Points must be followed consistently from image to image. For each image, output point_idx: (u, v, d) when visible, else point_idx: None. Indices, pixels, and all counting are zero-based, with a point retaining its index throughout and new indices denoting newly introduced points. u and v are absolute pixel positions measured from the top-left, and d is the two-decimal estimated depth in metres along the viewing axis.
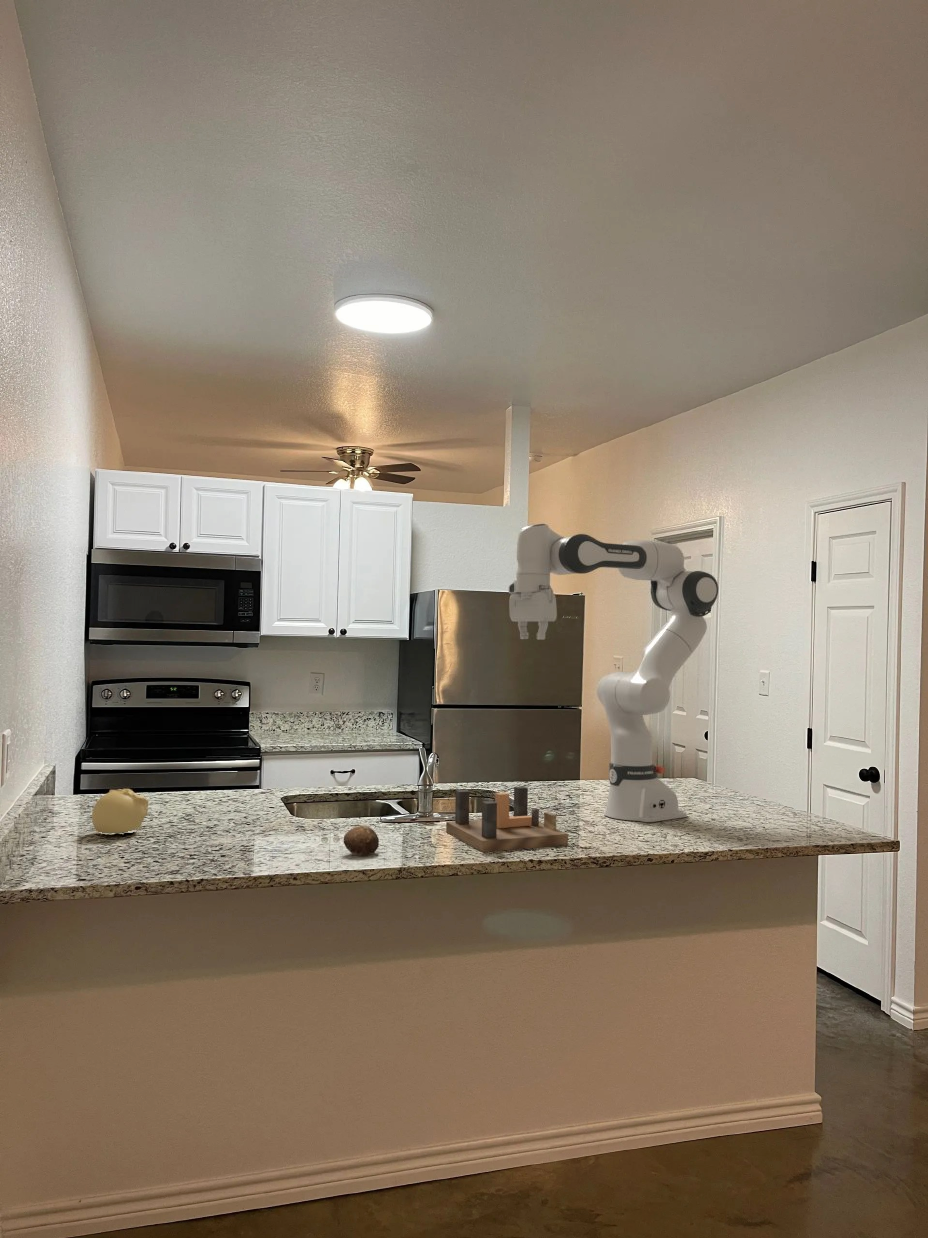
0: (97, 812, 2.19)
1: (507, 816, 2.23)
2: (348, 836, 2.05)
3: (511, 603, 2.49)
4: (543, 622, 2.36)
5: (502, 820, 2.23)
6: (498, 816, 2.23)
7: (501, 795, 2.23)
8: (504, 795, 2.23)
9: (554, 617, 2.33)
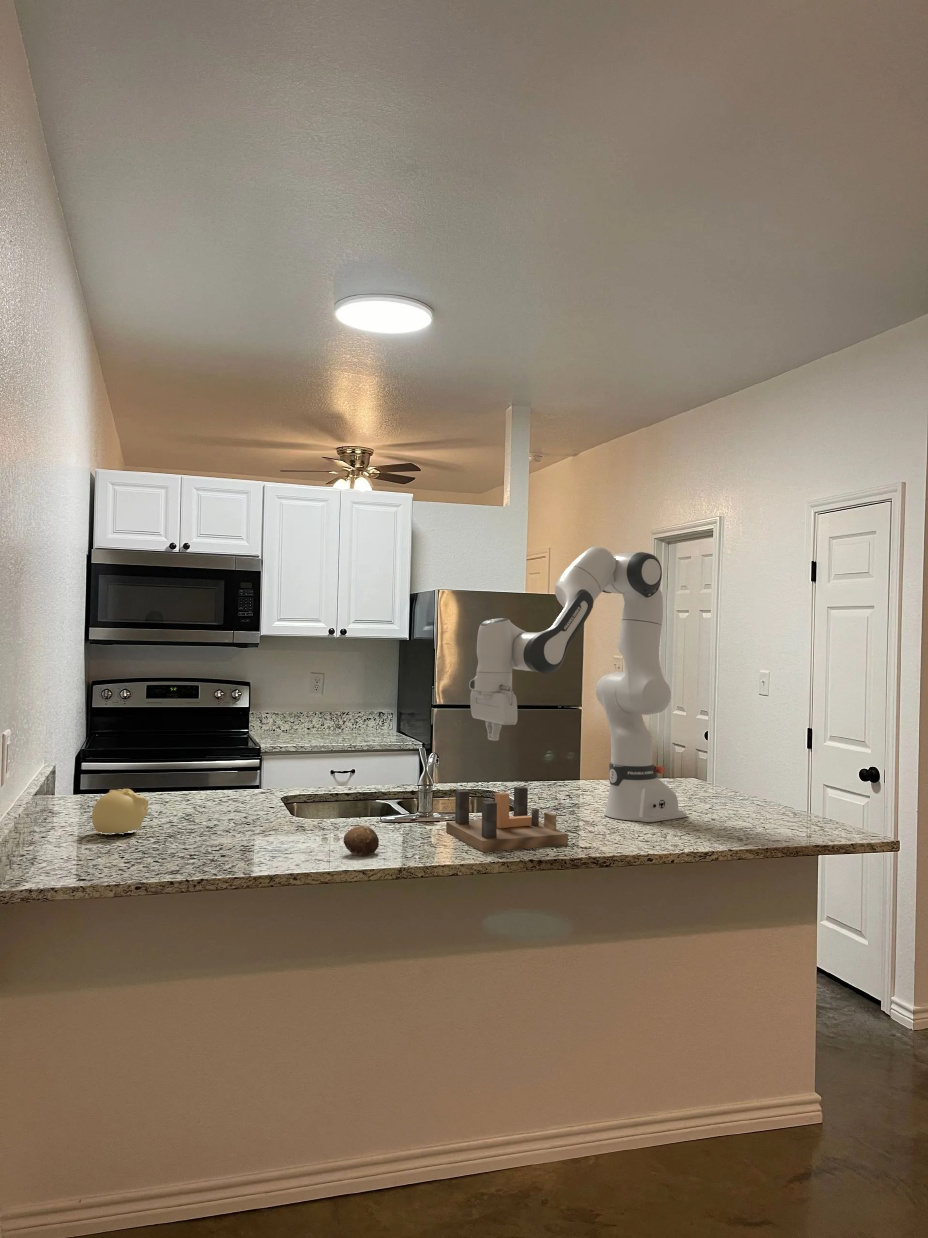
0: (97, 812, 2.19)
1: (507, 816, 2.23)
2: (348, 836, 2.05)
3: (472, 699, 2.36)
4: (496, 723, 2.27)
5: (502, 820, 2.23)
6: (498, 816, 2.23)
7: (501, 795, 2.23)
8: (504, 795, 2.23)
9: (515, 721, 2.21)
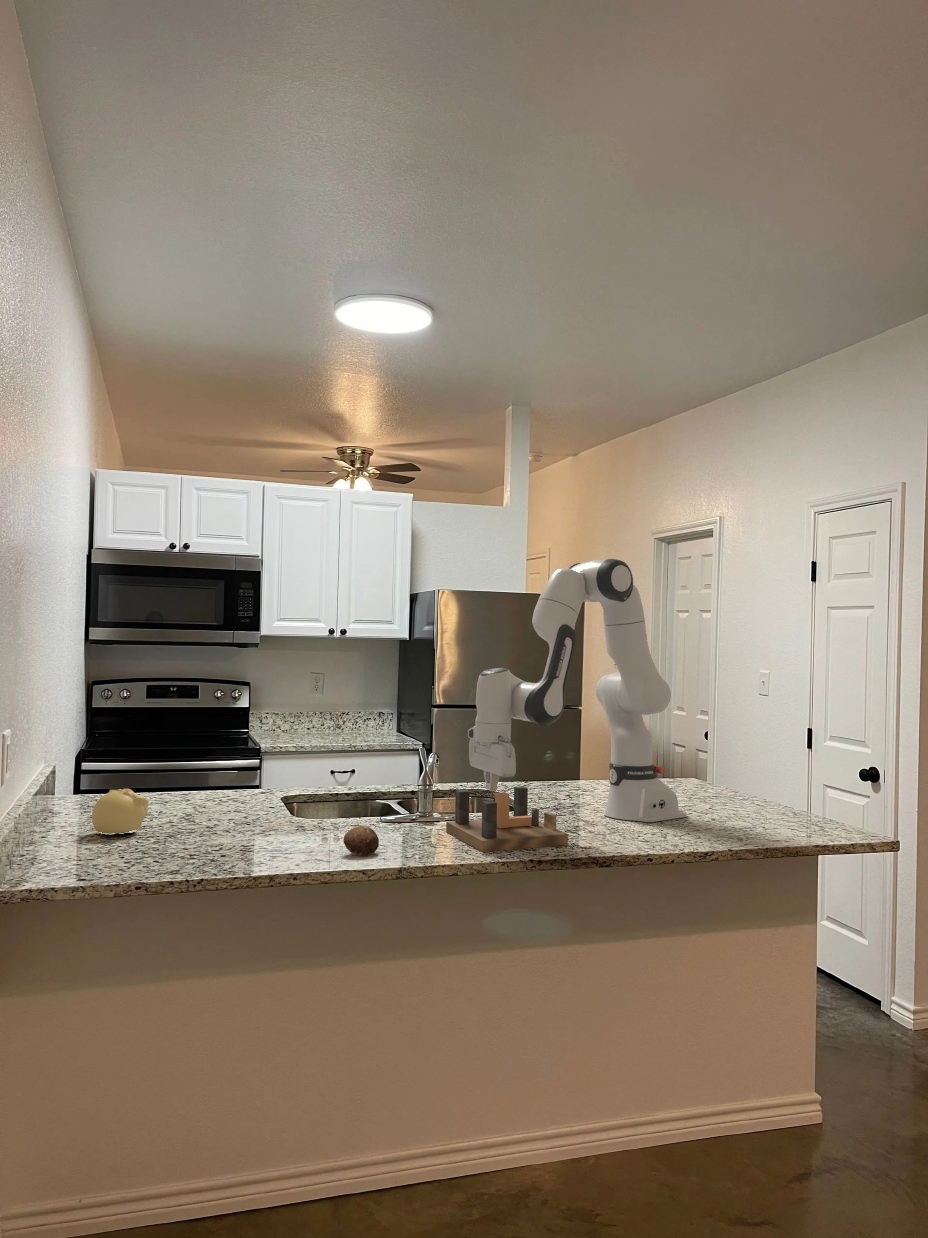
0: (97, 812, 2.19)
1: (507, 816, 2.23)
2: (348, 836, 2.05)
3: (470, 748, 2.36)
4: (495, 774, 2.27)
5: (502, 820, 2.23)
6: (498, 816, 2.23)
7: (501, 795, 2.23)
8: (504, 795, 2.23)
9: (513, 773, 2.20)
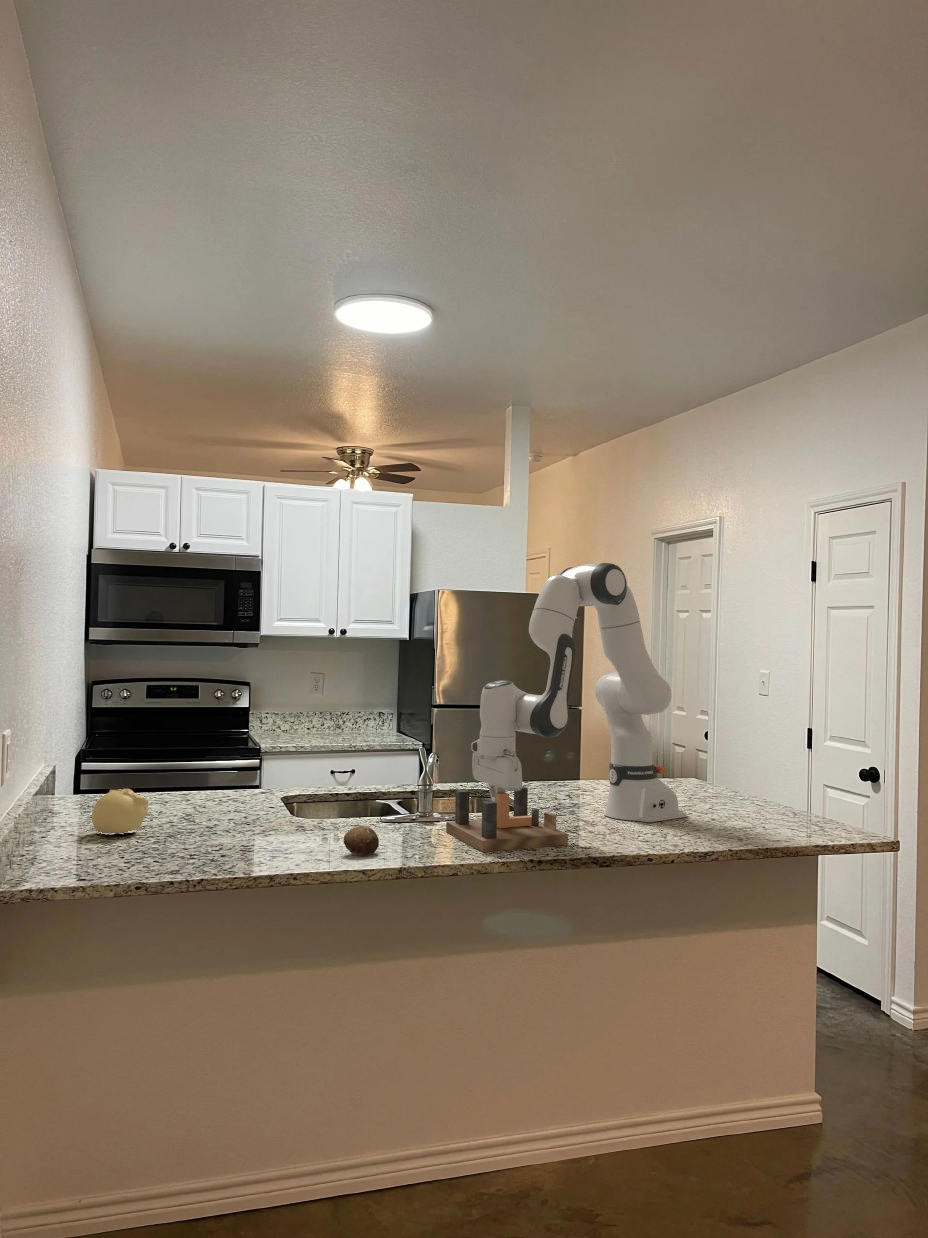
0: (97, 812, 2.19)
1: (507, 816, 2.23)
2: (348, 836, 2.05)
3: (474, 761, 2.34)
4: (500, 787, 2.25)
5: (502, 820, 2.23)
6: (498, 816, 2.23)
7: (501, 795, 2.23)
8: (504, 795, 2.23)
9: (519, 787, 2.19)
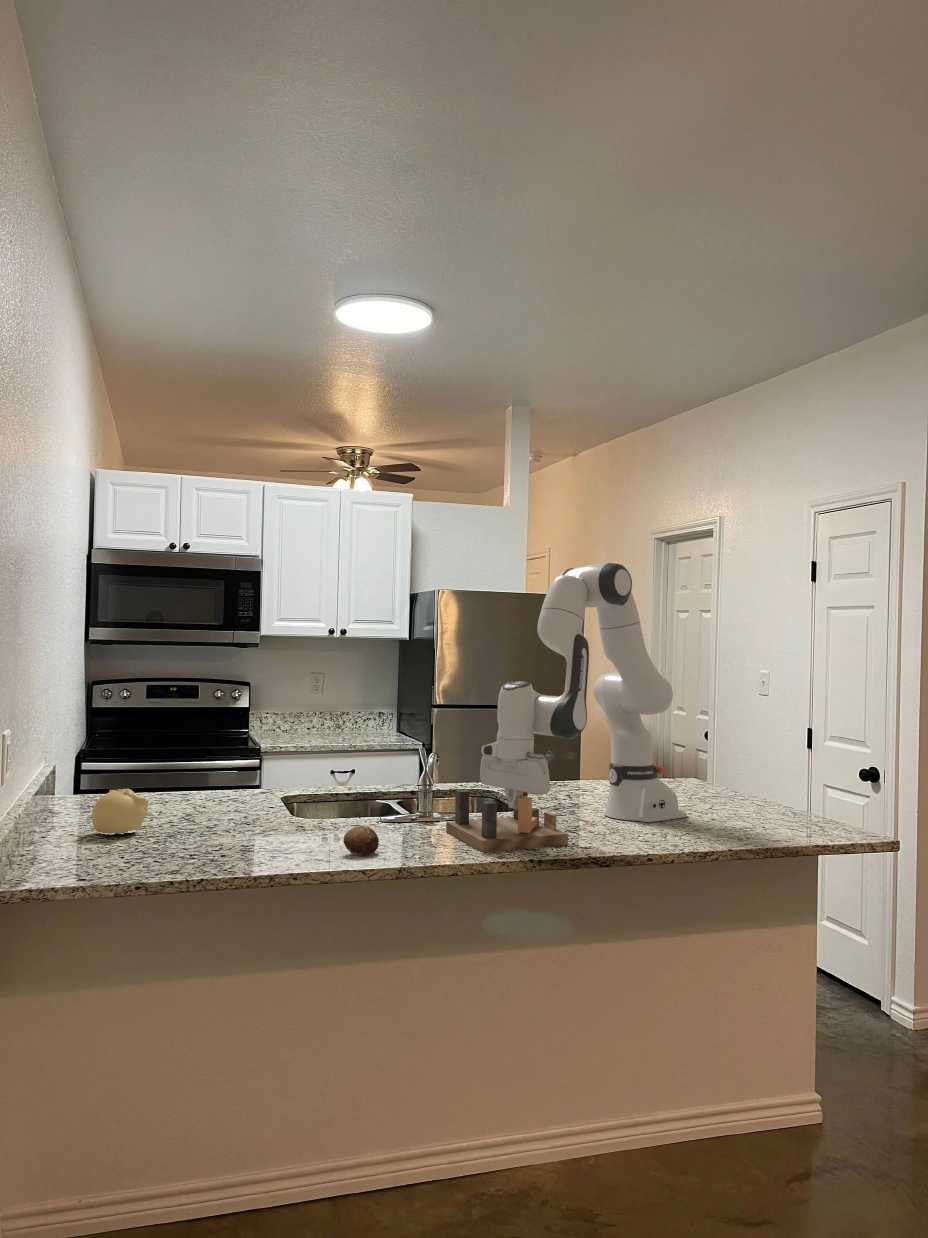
0: (97, 812, 2.19)
1: (531, 819, 2.20)
2: (348, 836, 2.05)
3: (483, 765, 2.26)
4: (519, 791, 2.20)
5: (529, 824, 2.18)
6: (526, 821, 2.18)
7: (529, 799, 2.18)
8: (530, 799, 2.19)
9: (548, 790, 2.14)
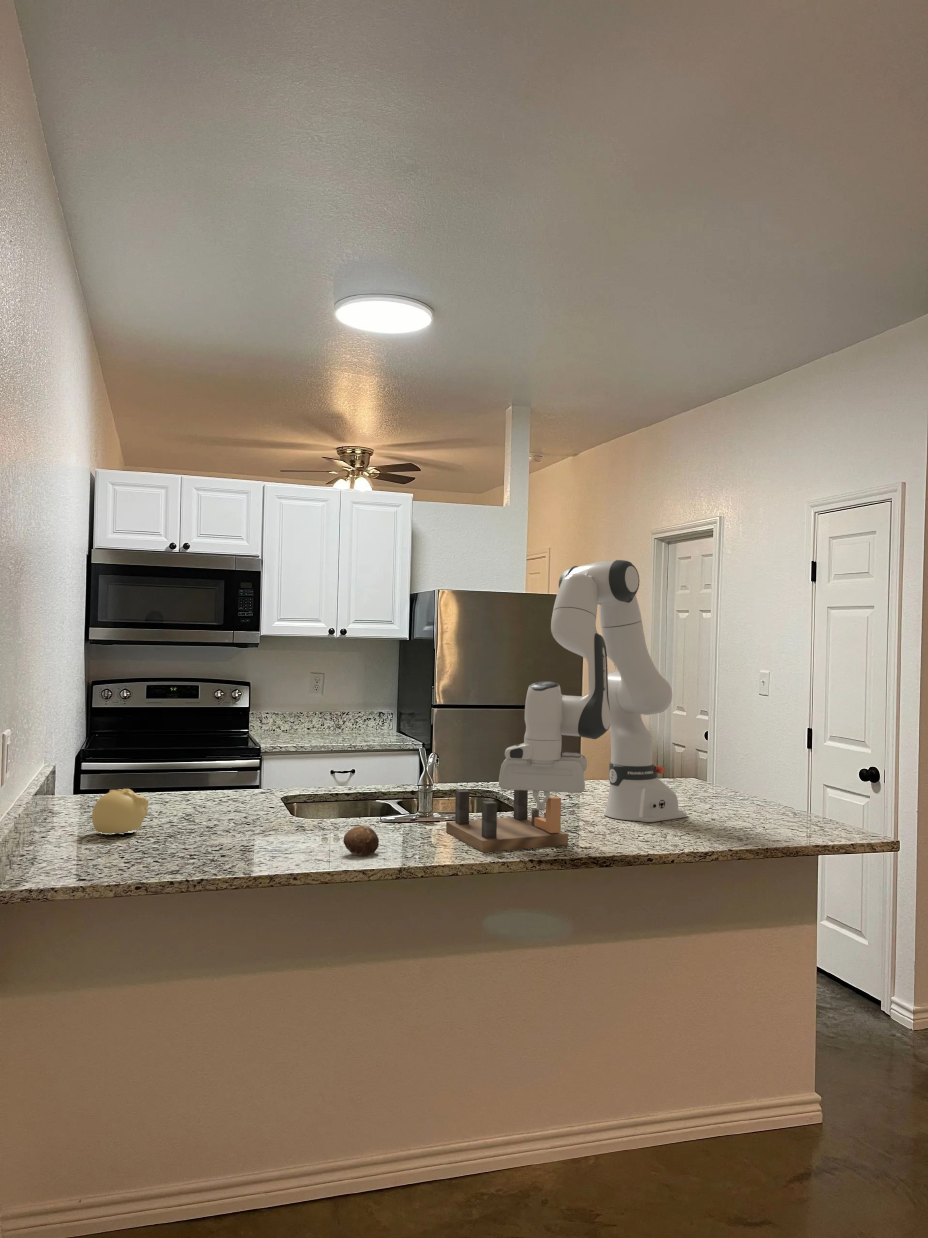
0: (97, 812, 2.19)
1: None
2: (348, 836, 2.05)
3: (506, 769, 2.18)
4: (549, 792, 2.18)
5: None
6: (558, 821, 2.19)
7: None
8: None
9: None
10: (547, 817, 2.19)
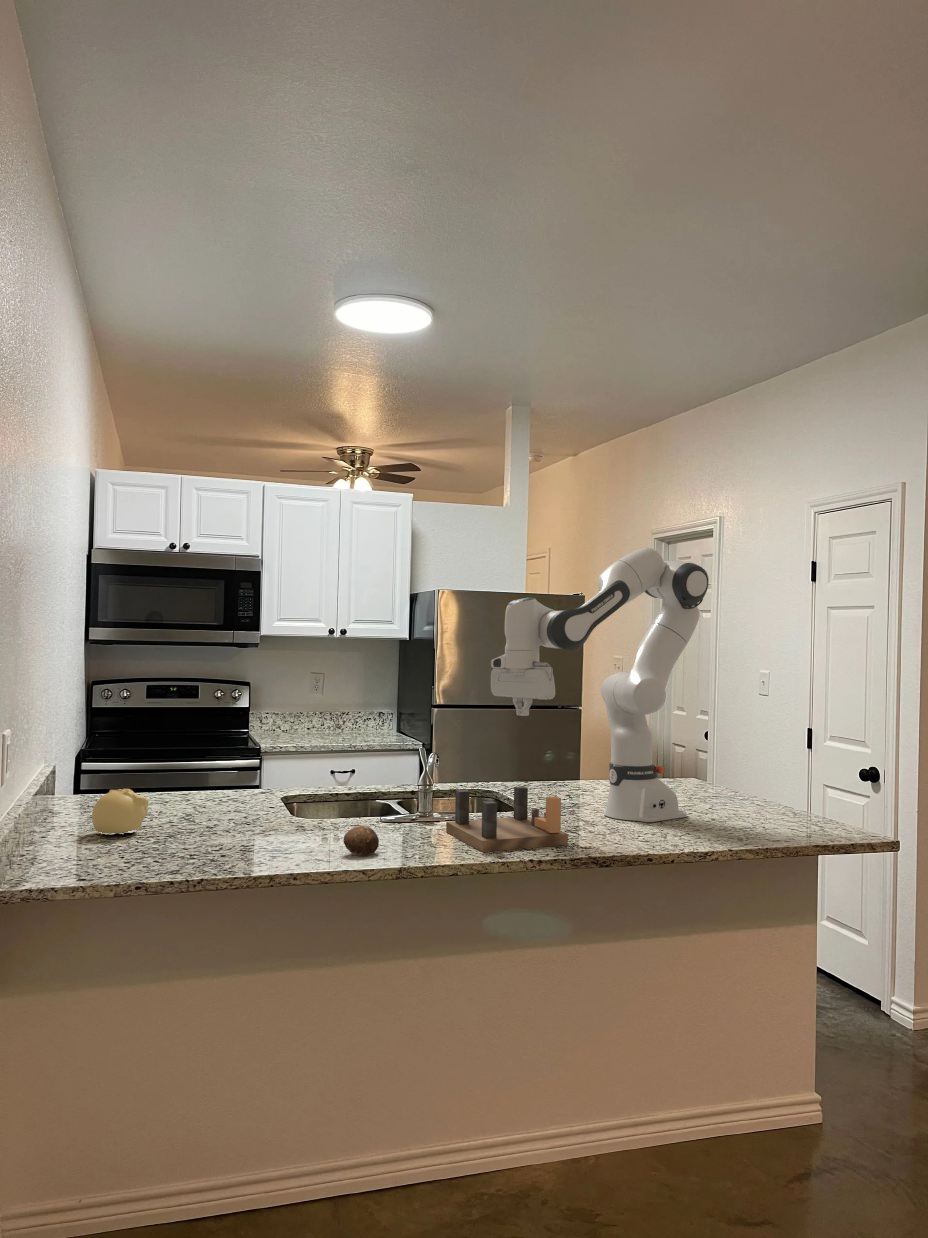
0: (97, 812, 2.19)
1: None
2: (348, 836, 2.05)
3: (493, 677, 2.43)
4: (528, 699, 2.36)
5: None
6: (558, 821, 2.19)
7: None
8: None
9: (553, 695, 2.31)
10: (547, 817, 2.19)
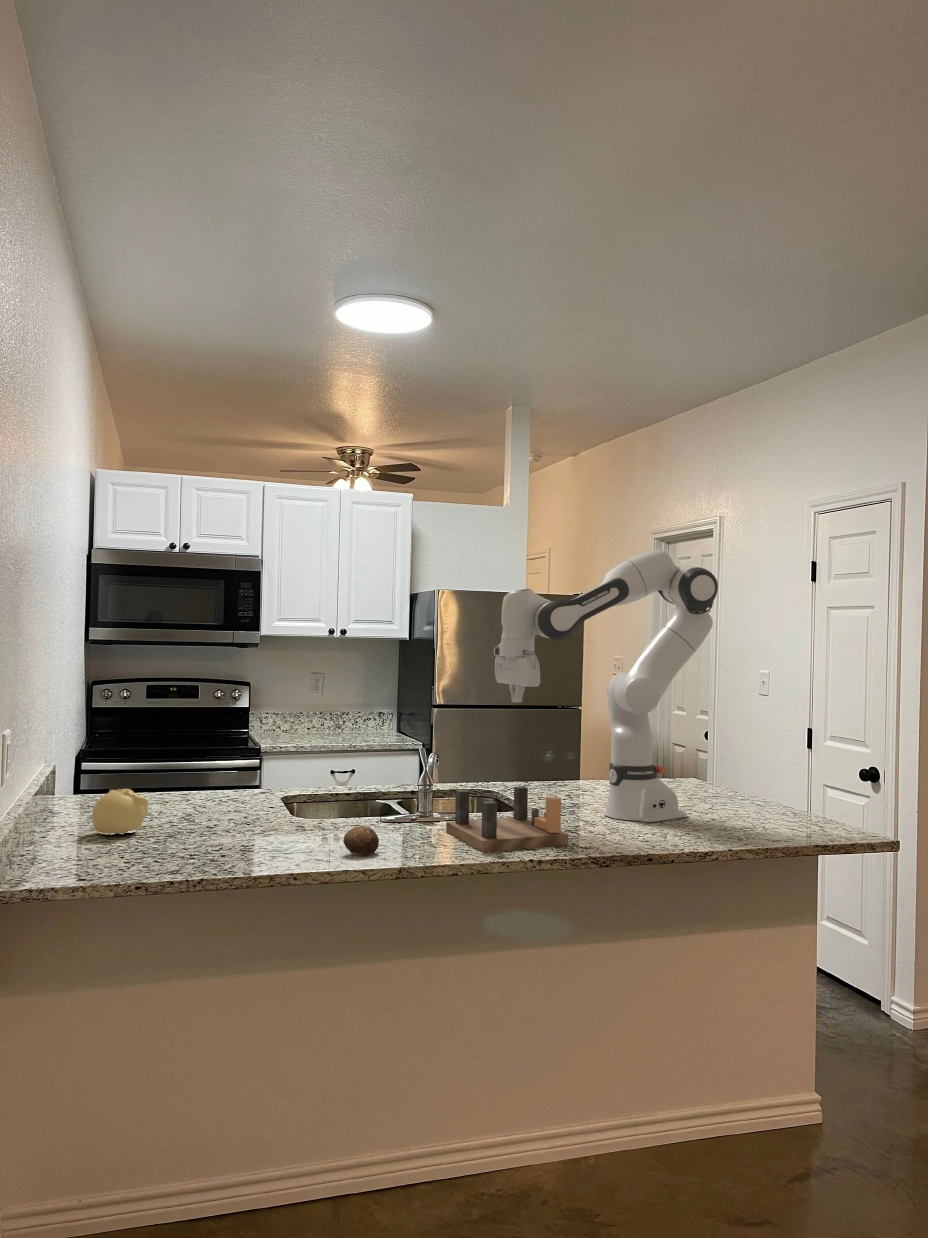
0: (97, 812, 2.19)
1: None
2: (348, 836, 2.05)
3: (496, 665, 2.54)
4: (520, 686, 2.45)
5: None
6: (558, 821, 2.19)
7: None
8: None
9: (538, 683, 2.38)
10: (547, 817, 2.19)
